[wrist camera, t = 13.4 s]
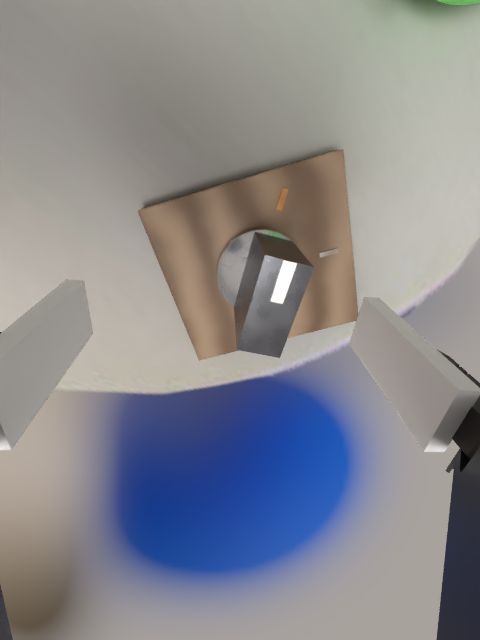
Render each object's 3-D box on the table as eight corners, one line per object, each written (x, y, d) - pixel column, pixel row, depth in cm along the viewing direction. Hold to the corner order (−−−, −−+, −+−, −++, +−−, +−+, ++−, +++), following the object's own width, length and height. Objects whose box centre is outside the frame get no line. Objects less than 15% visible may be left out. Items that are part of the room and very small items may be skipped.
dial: (286, 317, 42) (307, 368, 32) (209, 300, 40) (204, 349, 30) (315, 240, 37) (350, 270, 27) (228, 217, 35) (230, 241, 25)
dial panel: (200, 349, 48) (198, 361, 45) (143, 207, 37) (137, 211, 35) (350, 310, 46) (359, 320, 43) (334, 150, 35) (343, 149, 33)
